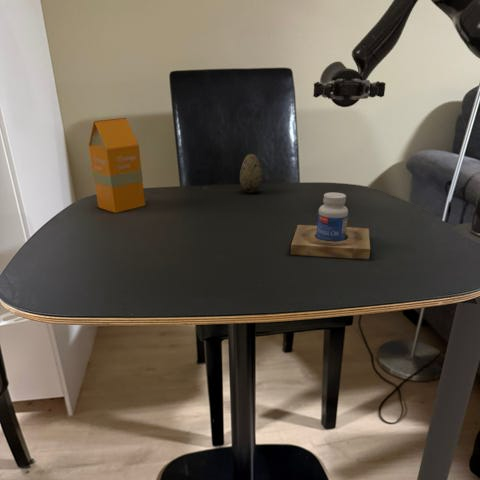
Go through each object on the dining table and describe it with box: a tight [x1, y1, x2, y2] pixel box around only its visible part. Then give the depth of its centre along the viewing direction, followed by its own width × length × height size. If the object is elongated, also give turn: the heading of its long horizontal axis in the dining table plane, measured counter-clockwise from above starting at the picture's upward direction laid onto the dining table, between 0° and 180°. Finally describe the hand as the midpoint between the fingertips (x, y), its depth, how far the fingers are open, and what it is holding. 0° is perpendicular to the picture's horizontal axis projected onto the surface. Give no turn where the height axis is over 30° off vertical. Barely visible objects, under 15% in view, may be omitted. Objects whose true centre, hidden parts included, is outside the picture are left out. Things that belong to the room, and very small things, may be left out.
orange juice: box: [88, 117, 146, 214], centre depth 114 cm, size 8×9×20 cm
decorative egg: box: [239, 153, 263, 194], centre depth 127 cm, size 6×6×10 cm
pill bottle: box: [316, 191, 349, 242], centre depth 90 cm, size 6×5×10 cm
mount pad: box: [290, 224, 371, 260], centre depth 91 cm, size 14×12×2 cm
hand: (351, 91), depth 93 cm, fingers open, 8 cm apart
